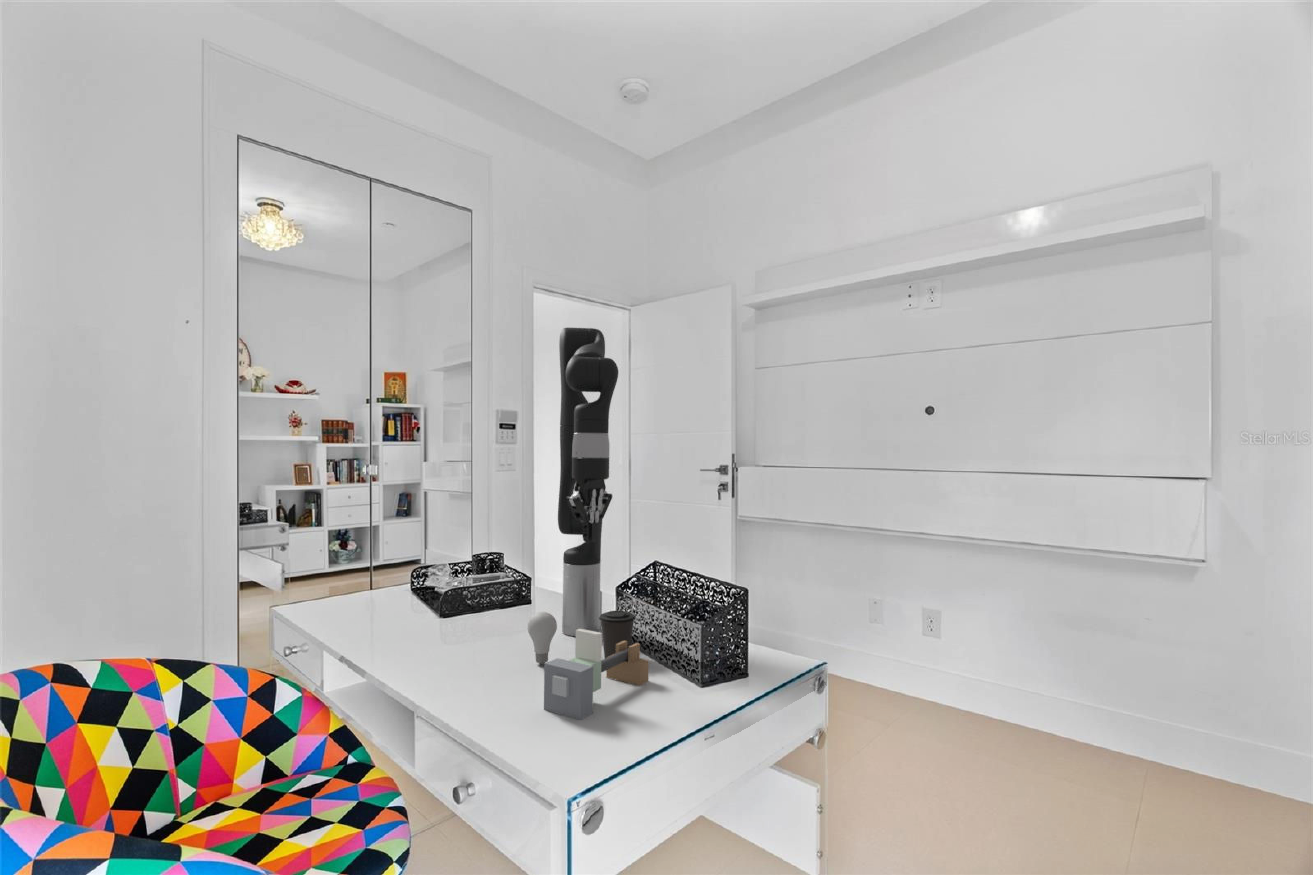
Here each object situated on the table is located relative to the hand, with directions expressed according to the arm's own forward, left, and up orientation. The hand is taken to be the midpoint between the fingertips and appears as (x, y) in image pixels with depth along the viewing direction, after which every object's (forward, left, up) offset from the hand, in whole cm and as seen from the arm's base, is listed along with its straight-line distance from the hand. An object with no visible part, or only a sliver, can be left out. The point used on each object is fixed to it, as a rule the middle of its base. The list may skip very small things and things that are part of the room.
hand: (589, 541), depth 134 cm
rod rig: (+7, +8, -27) cm, 29 cm away
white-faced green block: (+12, +8, -24) cm, 28 cm away
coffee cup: (-12, -1, -27) cm, 30 cm away
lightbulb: (0, -12, -27) cm, 30 cm away
